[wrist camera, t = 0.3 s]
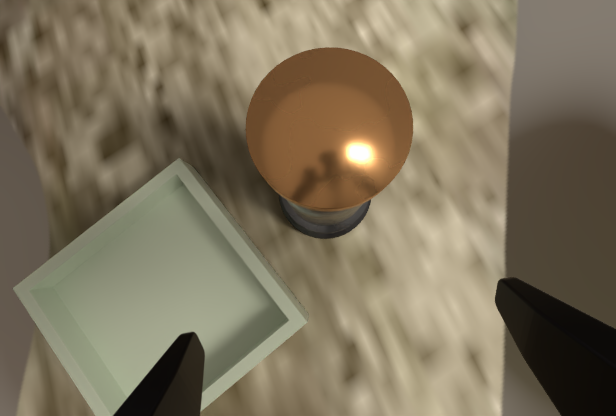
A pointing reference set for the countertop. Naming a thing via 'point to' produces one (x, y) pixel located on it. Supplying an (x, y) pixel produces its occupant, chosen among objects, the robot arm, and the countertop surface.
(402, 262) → the countertop surface
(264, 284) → the bin
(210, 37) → the countertop surface
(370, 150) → the grey and gold cylinder
